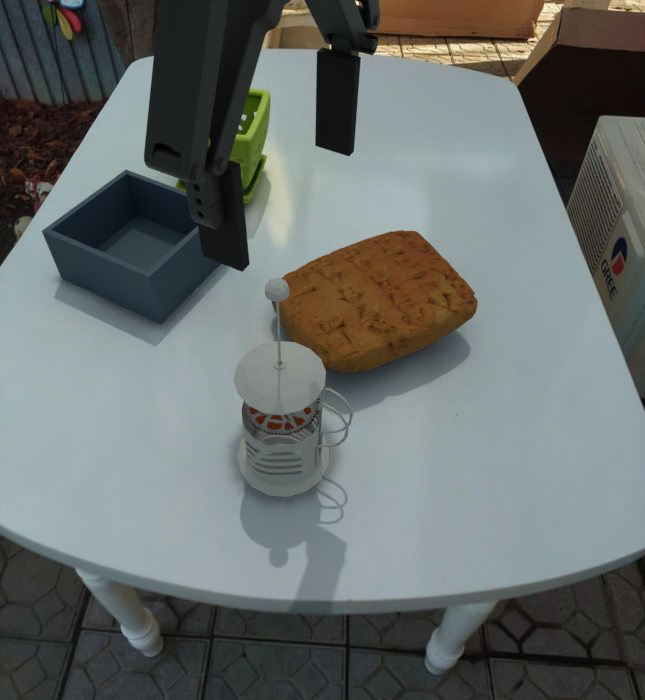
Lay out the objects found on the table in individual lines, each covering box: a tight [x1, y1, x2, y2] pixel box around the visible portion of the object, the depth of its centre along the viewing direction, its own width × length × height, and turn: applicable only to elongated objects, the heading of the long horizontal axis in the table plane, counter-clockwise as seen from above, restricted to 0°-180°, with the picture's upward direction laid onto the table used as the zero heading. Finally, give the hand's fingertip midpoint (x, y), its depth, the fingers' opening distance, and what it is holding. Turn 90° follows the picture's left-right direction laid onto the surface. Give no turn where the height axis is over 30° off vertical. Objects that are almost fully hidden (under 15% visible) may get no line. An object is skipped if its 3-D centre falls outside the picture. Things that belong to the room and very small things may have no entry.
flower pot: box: [174, 87, 271, 205], centre depth 88 cm, size 14×14×13 cm
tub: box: [41, 169, 222, 325], centre depth 77 cm, size 17×16×8 cm
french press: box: [233, 277, 354, 498], centre depth 52 cm, size 10×12×25 cm
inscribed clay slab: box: [271, 229, 479, 374], centre depth 71 cm, size 22×17×8 cm
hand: (286, 199), depth 38 cm, fingers open, 13 cm apart
